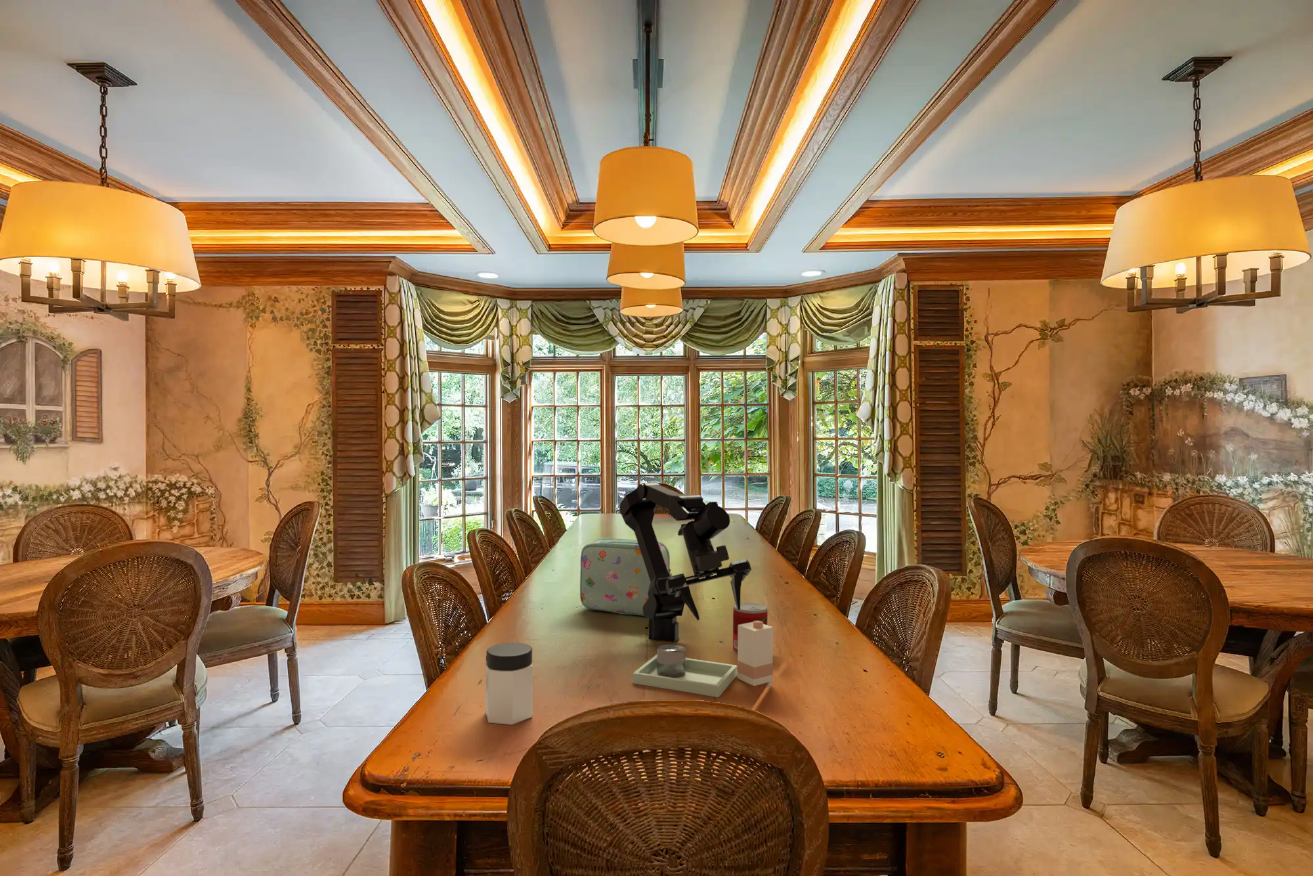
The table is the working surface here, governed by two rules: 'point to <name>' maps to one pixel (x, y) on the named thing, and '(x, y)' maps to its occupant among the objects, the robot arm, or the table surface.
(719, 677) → the tray
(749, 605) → the canned food
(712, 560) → the robot arm
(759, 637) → the oat carton
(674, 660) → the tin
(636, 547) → the lunch box
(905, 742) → the table surface
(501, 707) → the jar
